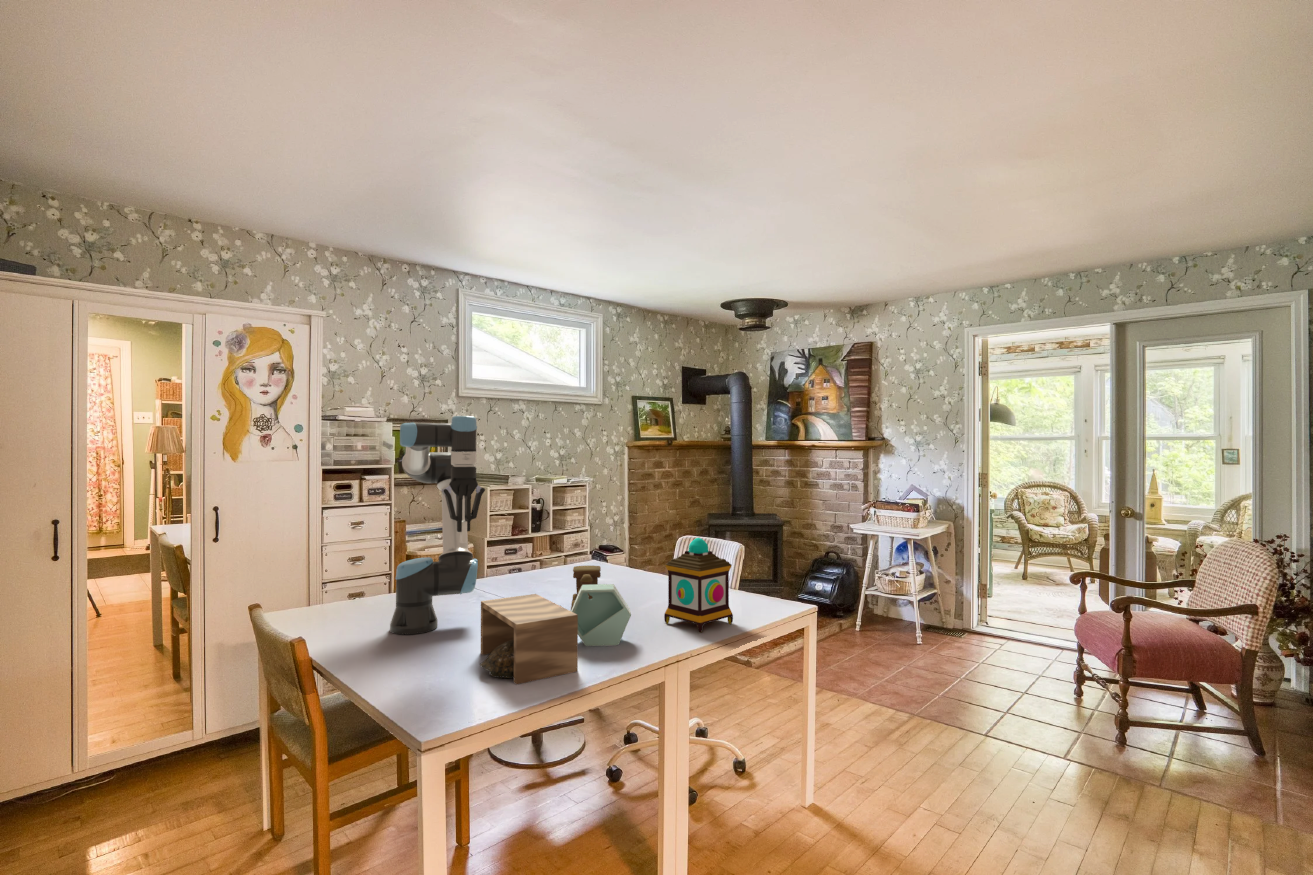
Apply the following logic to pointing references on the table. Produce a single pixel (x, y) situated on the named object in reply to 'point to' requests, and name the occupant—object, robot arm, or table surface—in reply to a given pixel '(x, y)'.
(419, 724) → the table surface
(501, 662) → the turtle shell
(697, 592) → the decorative lantern
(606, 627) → the planter
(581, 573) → the wooden toy train
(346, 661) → the table surface
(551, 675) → the walnut shelf
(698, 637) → the table surface
